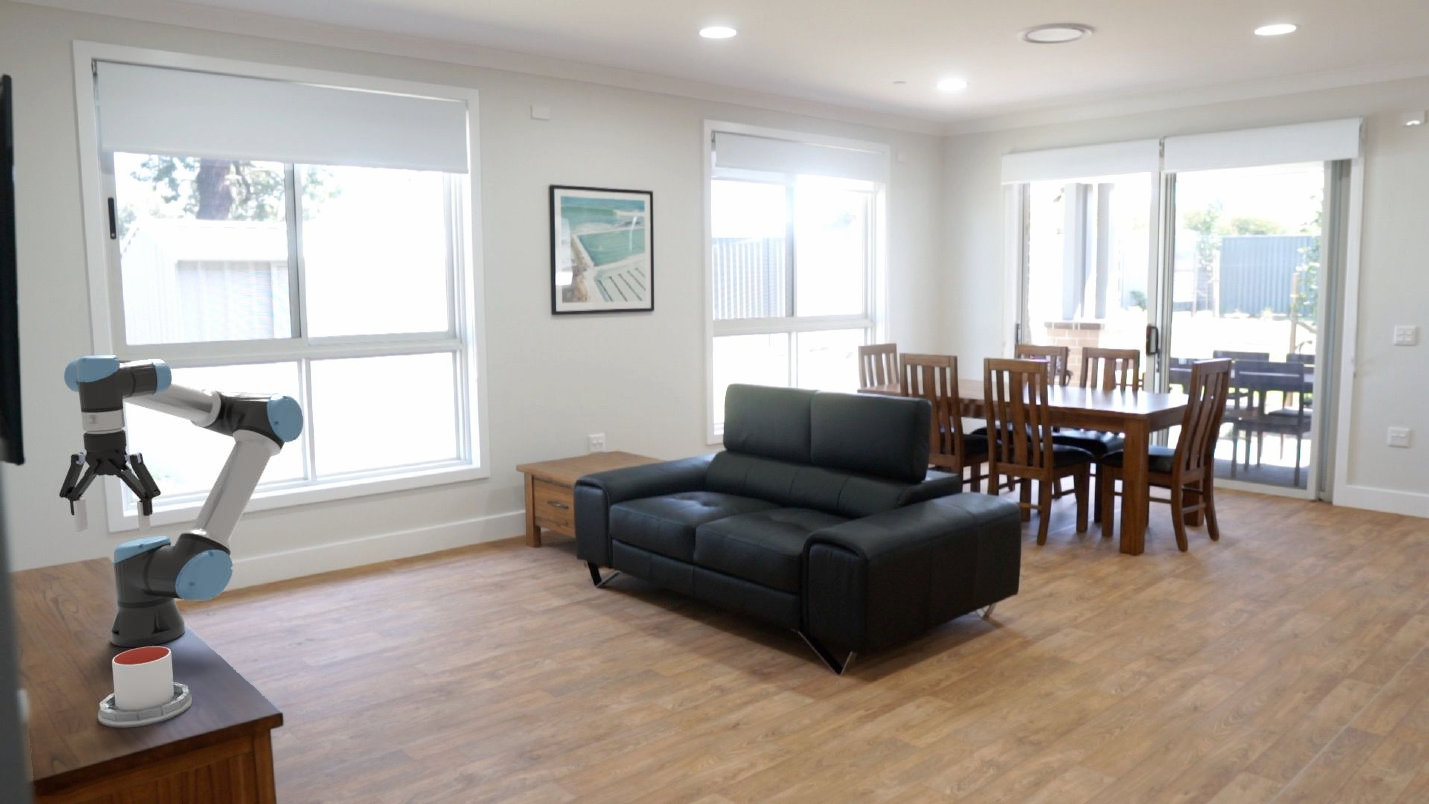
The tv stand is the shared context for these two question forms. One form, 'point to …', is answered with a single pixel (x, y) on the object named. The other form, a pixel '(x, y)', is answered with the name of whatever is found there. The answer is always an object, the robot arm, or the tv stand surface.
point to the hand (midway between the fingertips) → (113, 530)
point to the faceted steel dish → (120, 719)
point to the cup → (143, 678)
